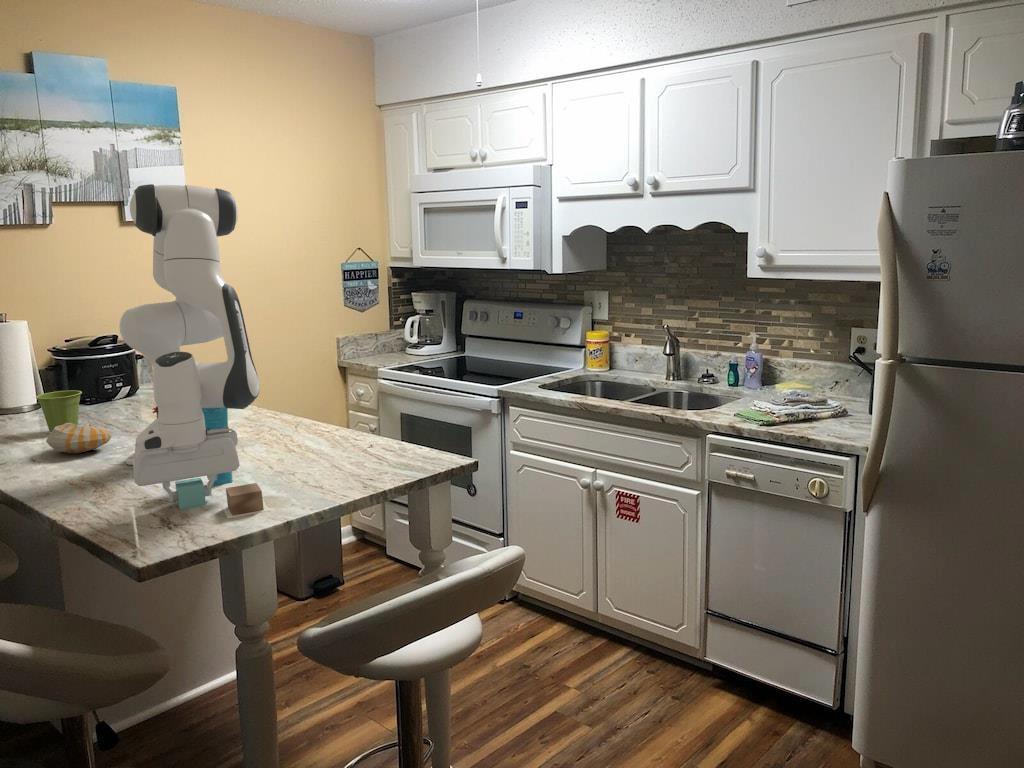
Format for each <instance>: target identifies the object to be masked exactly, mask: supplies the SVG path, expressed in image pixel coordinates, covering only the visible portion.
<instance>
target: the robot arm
mask: <svg viewBox="0 0 1024 768" xmlns="http://www.w3.org/2000/svg"><path fill="white" fill-rule="evenodd" d="M129 213H130V216H131V219H132V221H133V223H134V226H135V227H136V228H137V229H138V230H140V232H143V233H145V234H147V235H148V234H149V235H152V237H153V246H152V247H153V251H152V277H153V279H154V282H155V283H156V285H158V286H159V287H160V288H162V289H163V290H165V291H168V292H169V293H171V294H172V295H173V296H174V297H175V300H173V301H165V302H163V301H162V302H156V303H155V302H154V303H146V304H141V305H138V306H135V307H133V308H132V307H131V308H129V309H126V310H125V311H124V312H123V314H122V315H121V318H120V321H119V332H120V336H121V339H122V340H123V341H124V343H125V344H126V345H127V346H129V347H130V348H131V349H133V350H135V351H136V352H138V353H140V354H141V355H142V356H143V357H144V358H146V359H147V361H148V362H149V363H150V365H151V366H152V368H153V369H152V385H153V387H152V388H153V397H154V402H155V405H156V406H155V407H154V408H151V409H152V414H155V413H156V419H154V420H153V421H152V422H151V423H150V424H149V425H148V426H147V427H145V428H144V429H143V430H141V432H140V433H139V434H138V435H137V436H136V438H135V443H134V453H132V454H130V455H129V456H127V458H126V460H125V461H126V462H125V463H126V465H127V464H128V466H132V470H133V481H134V484H135V485H136V486H137V487H145V486H151V485H156V484H162V488H163V490H164V491H166V493H167V494H168V495H169V501H170V503H176V502H177V503H178V494H177V491H176V490H175V491H172V489H171V488H170V487H171V482H177V481H183V480H189V479H195V478H202V477H206V478H207V480H208V481H207V483H206V486H205V485H204V492H205V498H206V497H212V487H213V486H212V485H213V483H214V481H215V474H219V473H226V472H232V473H233V472H236V471H237V470H238V469H239V467H240V459H239V455H238V452H237V451H238V450H237V445H238V442H239V440H238V433H237V431H235V430H234V429H233V428H230V427H229V426H228V427H224V428H220V429H210V430H206V427H205V419H204V413H203V411H202V409H201V408H228V409H231V410H232V409H234V410H245V409H246V408H248V407H249V406H250V405H251V404H253V402H255V400H257V398H258V396H259V394H260V381H259V380H260V379H259V376H258V372H257V370H256V366H255V363H254V361H253V356H252V352H251V347H250V343H249V342H250V341H249V338H248V337H249V336H248V333H247V328H246V324H245V319H244V314H243V310H242V307H241V302H240V299H239V296H238V293H237V292H236V290H235V288H234V287H233V286H231V285H229V284H227V282H226V280H225V278H224V277H223V273H222V270H221V262H220V261H221V260H220V250H219V242H218V237H224V236H228V235H230V234H231V233H232V232H233V231H235V228H236V225H237V222H238V220H239V219H238V218H239V210H238V205H237V203H236V199H235V197H234V195H233V194H232V193H231V192H230V191H228V190H225V189H222V188H216V187H215V188H214V189H213V188H209V187H204V186H200V185H199V186H197V185H189V184H185V185H179V184H177V185H176V184H175V185H174V184H173V185H172V184H166V185H165V184H162V185H161V184H160V185H154V183H153V184H152V183H151V184H149V183H148V184H144V185H143V184H142V185H138V186H137V187H136V188H135V189H134V190H133V194H132V195H131V199H130V202H129ZM220 338H223V341H224V345H225V351H226V355H227V360H226V361H223V362H222V361H220V362H219V361H217V362H198V361H196V360H195V357H194V355H193V354H192V353H190V352H188V351H181V349H180V347H183V346H188V345H190V346H191V345H198V344H204V343H208V342H209V343H210V342H212V341H215V340H217V339H220ZM217 433H218V434H217ZM206 435H207V436H206Z"/></svg>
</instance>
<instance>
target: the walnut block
mask: <svg viewBox="0 0 1024 768" xmlns="http://www.w3.org/2000/svg"><path fill="white" fill-rule="evenodd" d="M262 491H263V490H262V489H261V488H260V486H259V484H258V483H257V482H254V483H247V484H243V485H241V484H240V485H236V486H230V487H225V492H226V501H227V506H228V508H229V510H230V512H231V514H232V516H234V515H240V514H245V513H250V512H256V511H261V510H264V508H263V501H264V499H263V492H262Z"/></svg>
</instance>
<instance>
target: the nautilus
mask: <svg viewBox="0 0 1024 768" xmlns="http://www.w3.org/2000/svg"><path fill="white" fill-rule="evenodd" d="M111 438H112V433H111V431H109V430H108V429H106V428H102V427H99V426H96V425H93V424H91V423H90V424H80V425H79V424H78V425H75V424H73V423H65V424H62V425H60V426H56V427H55V428H54V429H53V430H52V432H51V433H50V432H49V434H48V436H47V438H46V440H45V442H46V443H47V445H48V446H49V447H51V448H52V449H53V450H55V451H56V452H58V453H59V452H60V453H61V452H64V453H67V452H70V453H69V454H81V453H84V452H87V451H91V450H93V449H95V450H96V448H97V449H98V448H99V447H102V446H103V445H106V444H107V443H108V442H109V441H111Z"/></svg>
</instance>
